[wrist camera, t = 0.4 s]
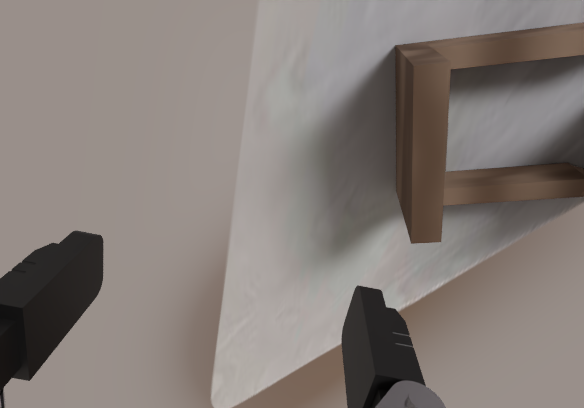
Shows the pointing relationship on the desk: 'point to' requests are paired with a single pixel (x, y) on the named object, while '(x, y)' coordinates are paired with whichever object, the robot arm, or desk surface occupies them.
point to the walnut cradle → (434, 127)
